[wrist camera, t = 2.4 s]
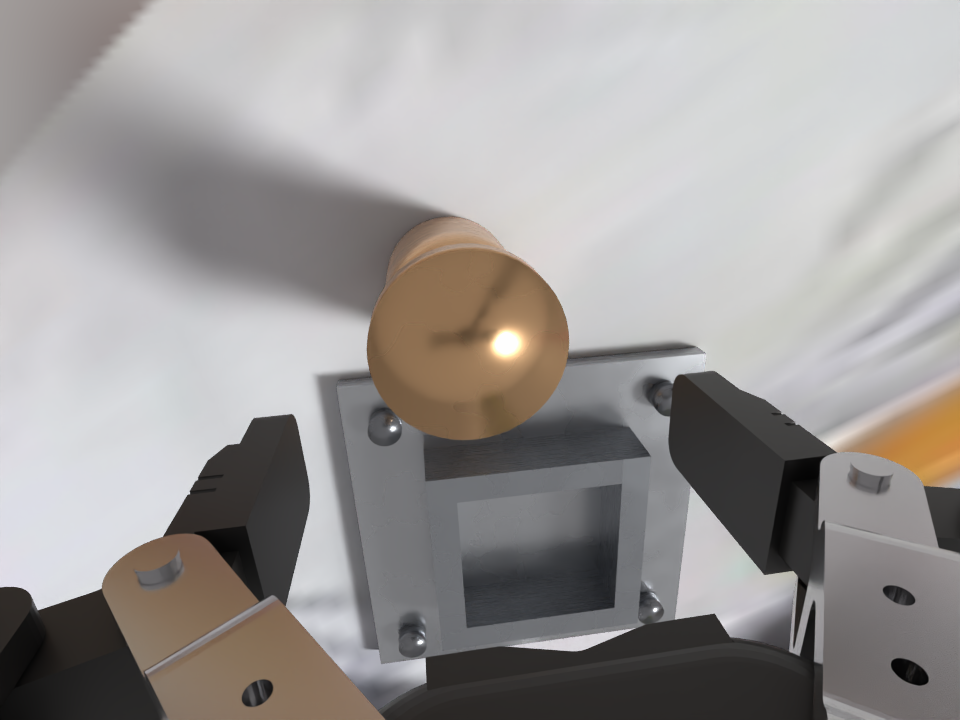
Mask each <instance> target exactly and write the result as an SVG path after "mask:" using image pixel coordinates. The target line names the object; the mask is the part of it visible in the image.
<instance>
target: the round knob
mask: <svg viewBox="0 0 960 720" xmlns="http://www.w3.org/2000/svg"><path fill="white" fill-rule="evenodd" d="M568 350H569V332H568V326H567V321H566V317H565V314H564V311H563V308H562V306H561V304H560V302H559V300H558V298H557V296H556V295H555V293H554V292H553V291H552V289H551V288H550V286H549V285H548V284H547V283H546V282H545V281H544V280H543V278H542V277H541V276H540V275H539V274H538V273H537V272H536V271H535V270H534V269H533V268H532V267H531V266H530V265H528V264H527V263H526V262H525V261H523V260H522V259H520V258H519V257H517V256H515V255H514V254H512V253H510V252H507V251H506V250H505V249H504V248H503V246H502V245H501V244H500V243H499V242H498V240H497V239H496V238H495V237H494V236H493V235H492V234H491V233H490V232H489V231H488V230H486V229H485V228H484V227H482V226H481V225H479V224H477V223H475V222H473V221H470V220H467V219H464V218H458V217H439V218H434V219H431V220H427V221H425V222H423V223H420V224H419V225H417V226H415V227H414V228H412V229H411V230H410V231H409V232H407V233H406V234H405V235H404V236H403V237H402V238H401V240H400V241H399V242H398V244H397V245H396V247H395V249H394V250H393V252H392V255H391V257H390V260H389V264H388V269H387V277H386V285H385V287H384V288H383V290H382V292H381V294H380V296H379V297H378V299H377V302H376V304H375V307H374V309H373V312H372V317H371V321H370V326H369V332H368V340H367V359H368V365H369V370H370V374H371V377H372V380H373V382H374V385H375V387H376V389H377V391H378V393H379V394H380V396H381V398H382V399H383V400H384V402H385V403H386V404H387V406H388V407H389V408H390V409H391V410H392V411H393V412H394V413H395V414H396V415H397V416H398V417H400V418H401V419H402V420H403V421H405V422H406V423H408V424H409V425H411V426H413V427H414V428H416V429H418V430H420V431H423V432H425V433H427V434H430V435H433V436H437V437H441V438H446V439H453V440H475V439H482V438H488V437H491V436H495V435H498V434H501V433H503V432H506V431H508V430H511V429H513V428H514V427H516V426H518V425H520V424H522V423H523V422H525V421H526V420H527V419H529V418H530V417H532V416H533V415H534V414H535V413H536V412H537V411H538V410H539V409H541V407H542V406H543V405H544V404H545V403H546V402H547V401H548V400H549V398H550V397H551V395H552V394H553V392H554V391H555V389H556V388H557V386H558V384H559V382H560V380H561V378H562V375H563V372H564V369H565V367H566V362H567V358H568Z"/></svg>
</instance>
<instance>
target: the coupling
mask: <svg viewBox="0 0 960 720" xmlns="http://www.w3.org/2000/svg"><path fill="white" fill-rule="evenodd" d="M705 360H706V353H705V352H703V351H702V350H701V349H699V348H698V347H693V348H682V349H671V350H661V351H650V352H639V353H629V354H618V355H607V356H596V357H586V358H575V359H567V362H566V367H565V369H564V372H563V375H562V378H561V380H560V382H559V384H558V386H557V388H556V389H555V391H554V392H553V394H552V395H551V397H550V398H549V400H548V401H547V402H546V403H545V404H544V405H543V406H542V407H541V409H539V410H538V411H537V412H536V413H535V414H534V415H533V416H532V417H530V418H529V419H527V420H526V421H525V422H523V423H522V424H520V425H518V426H516V427H514V428H513V429H511V430H508V431H506V432H503V433H501V434H498V435H495V436H491V437H488V438H482V439H475V440H453V439H446V438H441V437H437V436H433V435H430V434H427V433H425V432H423V431H420V430H418V429H416V428H414V427H413V426H411V425H409V424H408V423H406V422H405V421H403V420H402V419H401V418H400V417H398V416H397V415H396V414H395V413H394V412H393V411H392V410H391V409H390V408H389V407H388V406H387V404H386V403H385V402H384V400H383V399H382V398H381V396H380V394H379V393H378V391H377V389H376V387H375V385H374V382H373V380H372V377H371V378H361V379H350V380H339V381H338V384H337V388H336V389H337V396H338V402H339V408H340V414H341V420H342V426H343V432H344V439H345V445H346V451H347V457H348V463H349V469H350V475H351V482H352V488H353V494H354V500H355V506H356V512H357V518H358V524H359V531H360V537H361V543H362V549H363V555H364V561H365V567H366V574H367V580H368V586H369V592H370V598H371V604H372V610H373V617H374V623H375V629H376V635H377V641H378V647H379V653H380V659H381V664H385V663H392V662H399V661H406V660H413V659H420V658H426V657H431V656H438V655H444V654H451V653H458V652H464V651H471V650H477V649H484V648H491V647H497V646H504V647H505V646H512V645H519V644H526V643H533V642H540V641H547V640H554V639H561V638H569V637H576V636H583V635H590V634H597V633H604V632H611V631H618V630H625V629H632V628H638V627H641V626H643V625H645V624H650V623H657V622H663V621H670V620H675V613H676V605H677V596H678V588H679V579H680V571H681V562H682V554H683V546H684V537H685V529H686V520H687V512H688V503H689V495H690V486H691V485H690V484H689V483H688V482H687V480H686V479H685V478H684V477H683V476H682V474H681V473H680V472H679V471H678V470H677V468H676V467H675V465H674V463H673V461H672V459H671V456H670V452H669V445H668V436H669V424H670V412H671V401H672V389H673V383H674V380H675V378H676V376H678V375H679V374H688V373H697V372H704V368H705Z"/></svg>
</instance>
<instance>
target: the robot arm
mask: <svg viewBox="0 0 960 720" xmlns="http://www.w3.org/2000/svg"><path fill="white" fill-rule="evenodd" d="M668 445H669V452H670V456H671V459H672V461H673V463H674V465H675V467H676V468H677V470H678V471H679V472H680V473H681V474H682V476H683V477H684V478H685V479H686V480H687V482H688V483H689V484H690V485H691V486H692V488H693V489H694V490H695V491H696V493H697V494H698V495H699V496H700V497H701V499H702V500H703V501H704V502H705V503H706V505H707V506H708V507H709V508H710V510H711V511H712V512H713V513H714V514H715V516H716V517H717V518H718V519H719V520H720V522H721V523H722V524H723V525H724V526H725V528H726V529H727V530H728V531H729V533H730V534H731V535H732V536H733V537H734V539H735V540H736V541H737V542H738V543H739V545H740V546H741V547H742V548H743V549H744V551H745V552H746V553H747V554H748V556H749V557H750V558H751V559H752V560H753V562H754V563H755V564H756V565H757V566H758V568H759V569H760V570H761V571H762V573H763V574H764V575H767V574H774V573H781V572H788V571H794V572H795V573H796V574H797V579H796V584H795V589H794V596H793V609H792V622H791V635H790V648H789V651H786V650H783V649H781V648H778V647H775V646H772V645H768V644H764V643H760V642H757V641H751V640H746V639H740V638H731V637H729V635H728V634H727V632H726V631H725V629H724V627H723V626H722V624H721V623H720V621H719V620H718V618H717V617H716V615H715V614H710V615H703V616H696V617H690V618H683V619H677V620H670V621H663V622H657V623H650V624H645V625H643V626H641V627H638V628H636V629H633V630H631V631H629V632H626V633H624V634H622V635H619V636H617V637H614V638H612V639H610V640H607V641H605V642H603V643H600V644H598V645H596V646H593V647H591V648H588V649H586V650H583V651H558V650H544V649H531V648H517V647H504V646H497V647H491V648H484V649H477V650H471V651H464V652H458V653H451V654H444V655H438V656H431V657H426V676H427V683H425V684H423V685H421V686H418V687H416V688H414V689H412V690H410V691H408V692H406V693H404V694H403V695H401V696H399V697H397V698H396V699H394V700H393V701H391V702H390V703H388V704H387V705H386V706H384V707H383V708H381V709H380V710H379V711H377V709H376V708H375V707H374V706H373V705H372V704H371V703H370V702H369V700H368V699H367V698H366V697H365V696H364V695H363V694H362V693H361V691H360V690H359V689H358V688H357V687H356V686H355V685H354V683H353V682H352V681H351V680H350V679H349V678H348V677H347V676H346V674H345V673H344V672H343V671H342V670H341V669H340V668H339V667H338V665H337V664H336V663H335V662H334V661H333V660H332V659H331V657H330V656H329V655H328V654H327V653H326V652H325V651H324V650H323V648H322V647H321V646H320V645H319V644H318V643H317V642H316V641H315V639H314V638H313V637H312V636H311V635H310V634H309V633H308V632H307V630H306V629H305V628H304V627H303V626H302V625H301V624H300V622H299V621H298V620H297V619H296V618H295V617H294V616H293V615H292V613H291V612H290V611H289V610H288V609H287V608H286V607H285V606H286V602H287V598H288V594H289V590H290V586H291V582H292V578H293V573H294V569H295V565H296V561H297V557H298V553H299V549H300V545H301V541H302V537H303V533H304V528H305V524H306V520H307V516H308V512H309V505H310V490H309V481H308V476H307V471H306V466H305V461H304V456H303V451H302V446H301V441H300V436H299V431H298V426H297V422H296V419H295V417H294V416H293V415H292V414H289V415H279V416H270V417H260V418H254V419H253V420H252V421H251V423H250V425H249V427H248V429H247V431H246V433H245V435H244V437H243V439H242V441H241V443H240V444H234V445H227V446H226V447H224V448H223V449H222V450H221V451H219V452H218V453H217V454H216V455H214V456H213V457H212V458H211V459H209V460H208V461H207V463H206V465H205V466H204V468H203V470H202V471H201V473H200V475H199V477H198V480H197V481H196V482H195V483H194V485H193V487H192V488H191V490H190V495H187V497H186V499H185V500H184V502H183V504H182V505H181V507H180V509H179V510H178V512H177V514H176V515H175V517H174V519H173V521H172V522H171V524H170V526H169V527H168V529H167V531H166V532H165V534H164V536H163V537H161V538H158V539H155V540H152V541H150V542H147V543H145V544H143V545H141V546H139V547H137V548H135V549H134V550H132V551H131V552H129V553H127V554H126V555H125V556H123V557H122V558H121V559H119V560H118V561H117V562H116V563H115V564H114V565H113V566H112V567H111V569H110V570H109V571H108V573H107V574H106V576H105V577H104V580H103V583H102V589H100V590H98V591H95V592H92V593H89V594H86V595H83V596H80V597H77V598H74V599H71V600H68V601H65V602H62V603H59V604H56V605H53V606H50V607H47V608H44V609H41V610H37V608H36V606H35V604H34V602H33V599H32V597H31V595H30V594H29V593H28V592H27V591H26V590H24V589H22V588H17V587H2V588H0V720H960V489H956V488H942V487H929V486H923V483H922V481H921V480H920V479H919V478H918V477H917V476H916V475H915V474H914V473H913V472H911V471H910V470H909V469H907V468H905V467H903V466H902V465H900V464H897V463H895V462H893V461H890V460H888V459H885V458H882V457H878V456H874V455H870V454H864V453H856V452H840V453H837V452H835V451H834V450H833V449H831V448H830V447H829V446H827V445H826V444H824V443H823V442H822V441H820V440H819V439H818V438H816V437H815V436H813V435H812V434H811V433H809V432H808V431H807V430H805V429H804V428H802V427H801V426H800V425H795V422H794V421H793V420H792V419H790V418H789V417H787V416H786V415H785V414H783V415H782V414H781V411H779V410H778V409H776V408H775V407H774V406H772V405H771V404H770V403H768V402H767V401H766V400H764V399H761V398H759V397H757V396H754V395H752V394H749V393H747V392H744V391H742V390H739V389H738V388H737V387H735V386H734V385H733V384H731V383H730V382H729V381H727V380H726V379H725V378H723V377H722V376H721V375H719V374H718V373H717V372H715V371H707V372H697V373H688V374H679V375H678V376H676V378H675V380H674V383H673V389H672V401H671V412H670V424H669V436H668Z"/></svg>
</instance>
